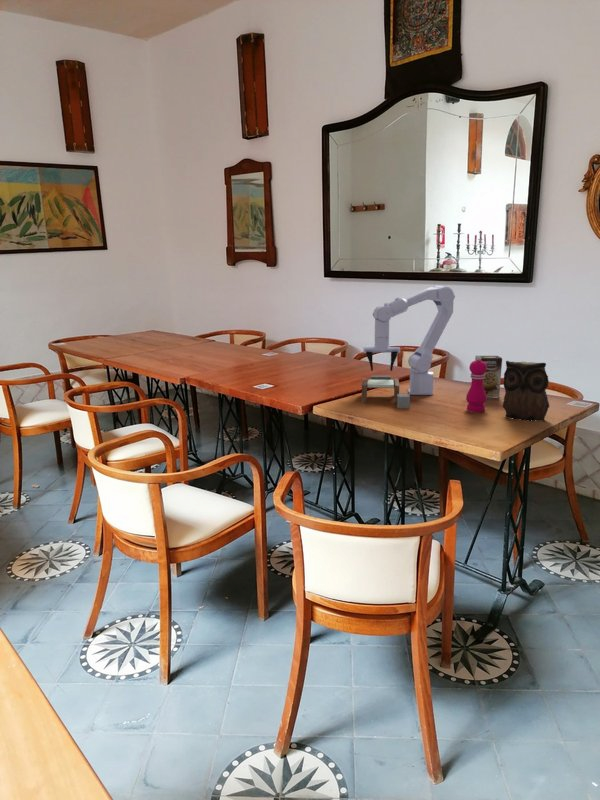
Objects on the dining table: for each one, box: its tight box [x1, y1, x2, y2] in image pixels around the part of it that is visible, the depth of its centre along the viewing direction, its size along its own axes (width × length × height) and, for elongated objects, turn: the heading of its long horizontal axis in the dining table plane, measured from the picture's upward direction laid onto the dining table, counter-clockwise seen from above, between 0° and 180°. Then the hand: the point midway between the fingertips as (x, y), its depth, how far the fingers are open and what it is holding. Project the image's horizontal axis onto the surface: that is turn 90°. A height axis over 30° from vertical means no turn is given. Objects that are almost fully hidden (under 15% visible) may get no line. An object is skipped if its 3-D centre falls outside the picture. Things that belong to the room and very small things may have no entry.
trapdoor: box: [367, 375, 394, 389], centre depth 226 cm, size 10×12×2 cm
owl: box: [502, 360, 550, 422], centre depth 197 cm, size 13×13×20 cm
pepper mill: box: [465, 355, 488, 413], centre depth 207 cm, size 7×7×20 cm
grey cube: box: [396, 393, 411, 409], centre depth 216 cm, size 4×4×4 cm
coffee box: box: [474, 355, 503, 399], centre depth 225 cm, size 9×6×16 cm
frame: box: [361, 377, 400, 404], centre depth 227 cm, size 14×13×7 cm
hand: (381, 370), depth 231 cm, fingers open, 7 cm apart
